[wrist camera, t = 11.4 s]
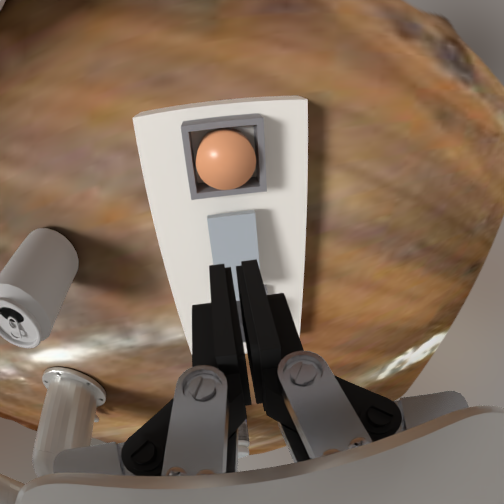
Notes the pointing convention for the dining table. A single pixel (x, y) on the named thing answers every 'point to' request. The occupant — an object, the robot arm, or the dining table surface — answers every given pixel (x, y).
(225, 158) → the button
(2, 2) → the cat figurine
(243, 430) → the pill bottle
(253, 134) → the panel
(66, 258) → the can
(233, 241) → the slate rocker
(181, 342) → the dining table surface
